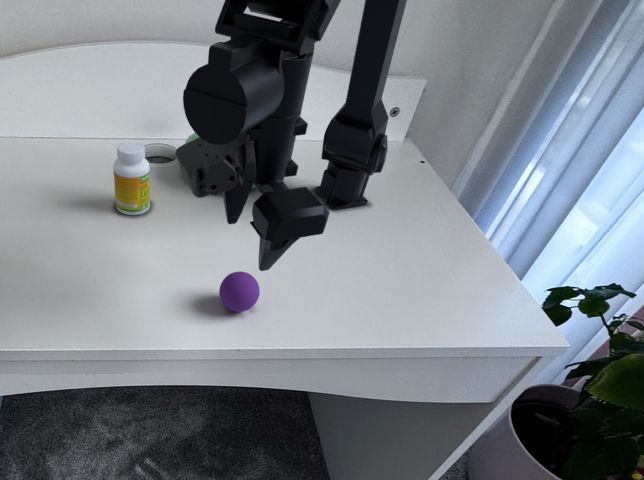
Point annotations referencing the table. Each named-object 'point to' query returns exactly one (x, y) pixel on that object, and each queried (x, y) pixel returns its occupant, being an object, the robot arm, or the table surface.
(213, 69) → the robot arm
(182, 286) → the table surface
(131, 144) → the supplement bottle
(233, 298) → the ball
